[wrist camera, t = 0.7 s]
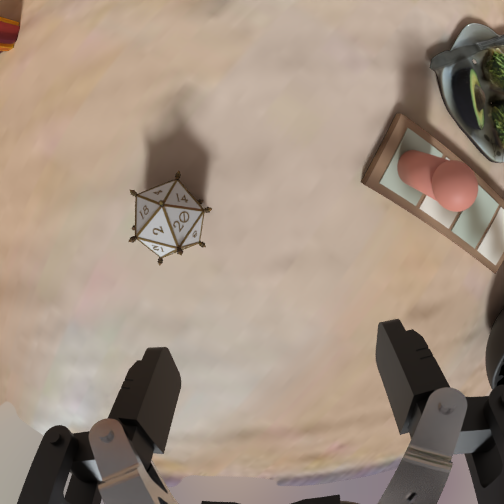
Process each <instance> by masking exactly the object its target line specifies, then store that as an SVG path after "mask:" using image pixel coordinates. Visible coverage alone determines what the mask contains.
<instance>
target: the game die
mask: <svg viewBox="0 0 504 504" xmlns="http://www.w3.org/2000/svg"><path fill="white" fill-rule="evenodd" d="M175 177H176V179H175V180H172V181H169V182H167V183H164V184H162V185H159V186H156V187H154V188H151V189H149V190H146V191H144V192H141V193H139V194H137V193H136V192H135V191H134V190H130V193H131V194H132V195H133V196H135V197H136V201H135V226H134V225H133V227H132V229H133V230H135V236H133V237H130V240H129V241H128V242H134V241H135V240H136V239H137V240H139V241H140V242H141V243H142V244H144V245H145V246H146V247H147V248H149V249H150V250H151V251H152V252H154V253H155V254H156V255H158V256H159V259H158V263H159V265H161V264H162V263H163V262H162V261H163V259H162V258H163V257H166V256H168V255H171V254H173V253H176V252H178V253H177V254H180V255H182V253H183V251H182V250H183V249H186V248H188V247H191V246H194V245H196V244H199V245H200V246H201V247H206V246H205V243H203V242H201V241H200V238H201V231H202V225H203V218H204V212H206V213H207V212H210V211H211V210H212V208H209V207H207V208H205V209H203V208H202V206H201V205H200V204H202V202H203V201H202V200H199V201H196V199H195V198H194V197H193V196H192V195H191V194H190V193H189V191H188V190H187V189H186V188H185V187H184V186H183V184H182V183H181V182H180V181H179V178H180V172H179V171H178V172H177V173H176V176H175Z"/></svg>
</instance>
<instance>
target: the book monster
mask: <svg viewBox="0 0 504 504" xmlns="http://www.w3.org/2000/svg"><path fill="white" fill-rule="evenodd" d="M18 25H19V22H16V21H13V20H9V19H6V18H3V17H0V53H1V52H3V51H9V50H10V49H12V48H13V47H14V43H15V42H16V40H17V36H18V32H19V29H20V27H19V26H18Z"/></svg>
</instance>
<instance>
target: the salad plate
mask: <svg viewBox="0 0 504 504" xmlns="http://www.w3.org/2000/svg"><path fill="white" fill-rule="evenodd" d="M473 59H475V60H476V62H477V63H476V64H474V63H473V61H472V60H473ZM430 68H431V69H432V70H434V71H435V72H436V74H437V77H438V81H439V86H440V91H441V95H442V99H443V102H444V104H445V106H446V108H447V110H448V112H449V114H450V115H451V117H452V118H453V119H454V121H455V122H456V123H457V125H458V126H459V128H460V129H461V130H462V131H463V132H464V133H465V134H466V136H467V137H468V138H469V139H470V141H471V142H472V143H473V144H474V145H475V147H476V148H477V149H478V150H479V151H480V152H481V153H482V154H483V155H484V156H485V157H486V158H487V159H488V160H489V161H491V162H495V163H503V162H504V34H503V35H498V34H496V33H495V32H494V31H493V30H492V29H490V28H489V27H487V26H485V25H482V24H477V23H471V24H468V25H467V26H466V27H465V28H464V29H463V30H462V31H461V32H460V34H459V35H458V37H457V39H456V41H455V43H454V45H453V47H452V48H451V50H450V51H448V50H447V51H444V52H442V53H440V54H438V55H436V56H435V57H434V58H432V60H431V65H430ZM491 102H492V104H490V103H491Z"/></svg>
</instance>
